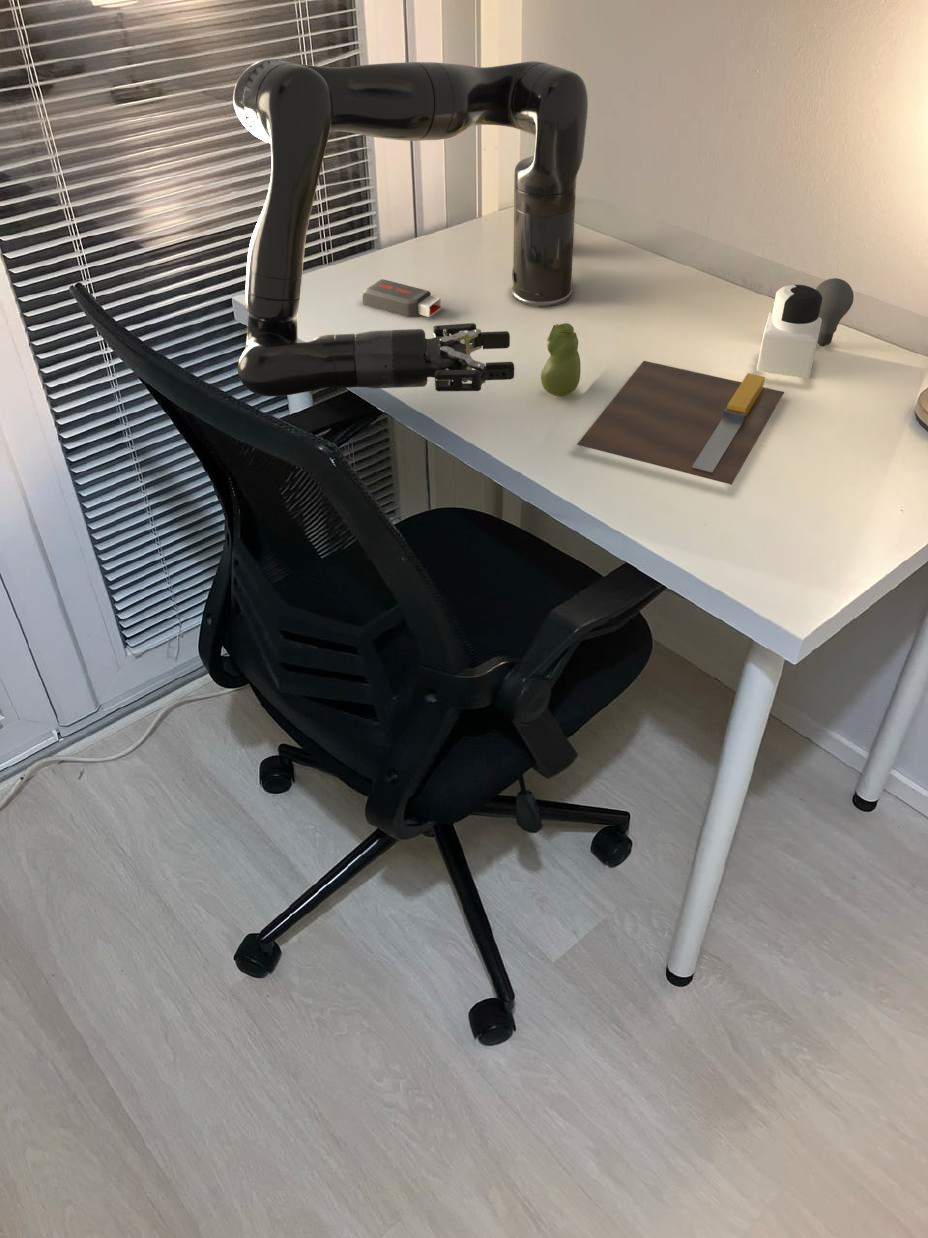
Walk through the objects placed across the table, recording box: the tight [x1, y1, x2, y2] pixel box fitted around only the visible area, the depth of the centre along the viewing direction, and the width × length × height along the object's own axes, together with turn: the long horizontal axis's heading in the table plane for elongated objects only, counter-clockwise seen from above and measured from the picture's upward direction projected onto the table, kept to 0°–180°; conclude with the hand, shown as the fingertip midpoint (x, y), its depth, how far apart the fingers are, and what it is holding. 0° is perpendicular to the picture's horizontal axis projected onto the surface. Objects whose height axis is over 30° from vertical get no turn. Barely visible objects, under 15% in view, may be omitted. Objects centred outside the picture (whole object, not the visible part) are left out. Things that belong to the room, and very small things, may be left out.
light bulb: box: [815, 277, 855, 347], centre depth 150 cm, size 6×6×10 cm
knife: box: [692, 372, 766, 474], centre depth 134 cm, size 22×3×2 cm, turn 152°
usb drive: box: [362, 279, 442, 318], centre depth 165 cm, size 5×12×3 cm, turn 58°
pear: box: [540, 322, 582, 397], centre depth 141 cm, size 6×5×10 cm
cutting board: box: [576, 360, 785, 485], centre depth 137 cm, size 24×20×2 cm
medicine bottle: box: [756, 284, 822, 379], centre depth 144 cm, size 7×7×12 cm
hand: (511, 354), depth 141 cm, fingers open, 8 cm apart
